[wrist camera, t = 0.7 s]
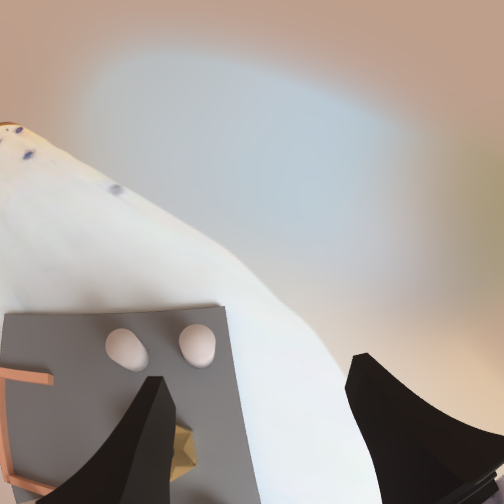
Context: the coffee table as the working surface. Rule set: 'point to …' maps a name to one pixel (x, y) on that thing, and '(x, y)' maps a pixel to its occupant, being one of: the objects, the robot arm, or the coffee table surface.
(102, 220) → the coffee table surface
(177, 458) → the brass nut
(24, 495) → the plate
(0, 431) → the parts bay
